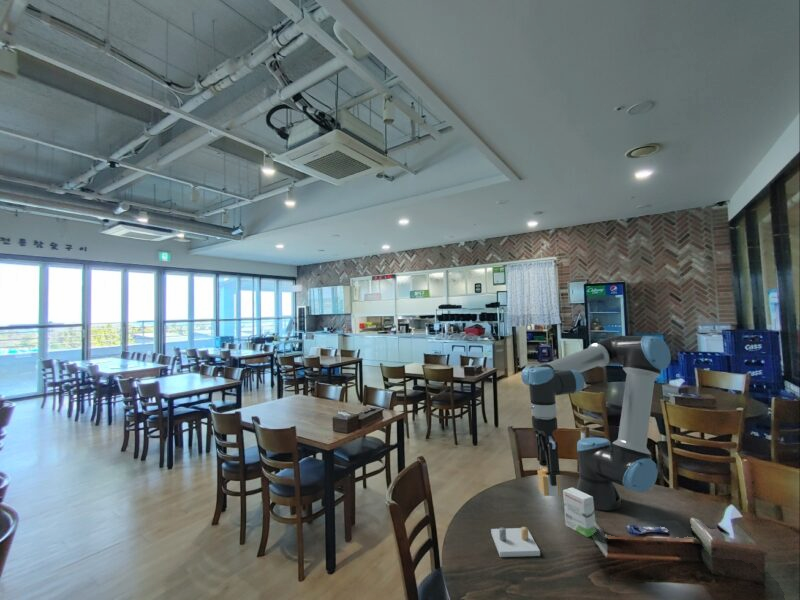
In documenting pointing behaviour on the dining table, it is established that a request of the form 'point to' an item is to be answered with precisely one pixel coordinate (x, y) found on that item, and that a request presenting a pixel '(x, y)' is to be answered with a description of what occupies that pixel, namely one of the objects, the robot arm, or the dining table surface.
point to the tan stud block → (544, 483)
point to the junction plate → (514, 542)
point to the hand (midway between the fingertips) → (549, 490)
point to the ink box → (579, 511)
